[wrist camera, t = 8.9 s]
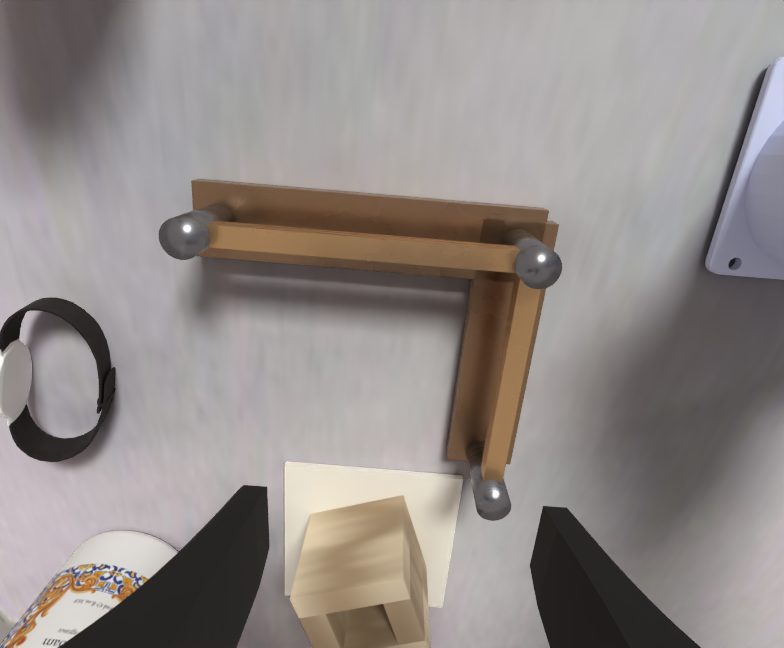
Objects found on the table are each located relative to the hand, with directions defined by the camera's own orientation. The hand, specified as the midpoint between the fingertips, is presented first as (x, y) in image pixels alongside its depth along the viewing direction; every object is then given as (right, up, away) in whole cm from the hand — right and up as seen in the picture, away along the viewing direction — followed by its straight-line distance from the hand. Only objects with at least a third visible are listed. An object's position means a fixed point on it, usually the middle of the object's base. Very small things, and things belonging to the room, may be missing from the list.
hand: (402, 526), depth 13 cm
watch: (-15, +3, +11) cm, 19 cm away
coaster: (-2, -6, +14) cm, 15 cm away
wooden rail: (-1, +5, +9) cm, 10 cm away
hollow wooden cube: (-1, -6, +13) cm, 15 cm away
